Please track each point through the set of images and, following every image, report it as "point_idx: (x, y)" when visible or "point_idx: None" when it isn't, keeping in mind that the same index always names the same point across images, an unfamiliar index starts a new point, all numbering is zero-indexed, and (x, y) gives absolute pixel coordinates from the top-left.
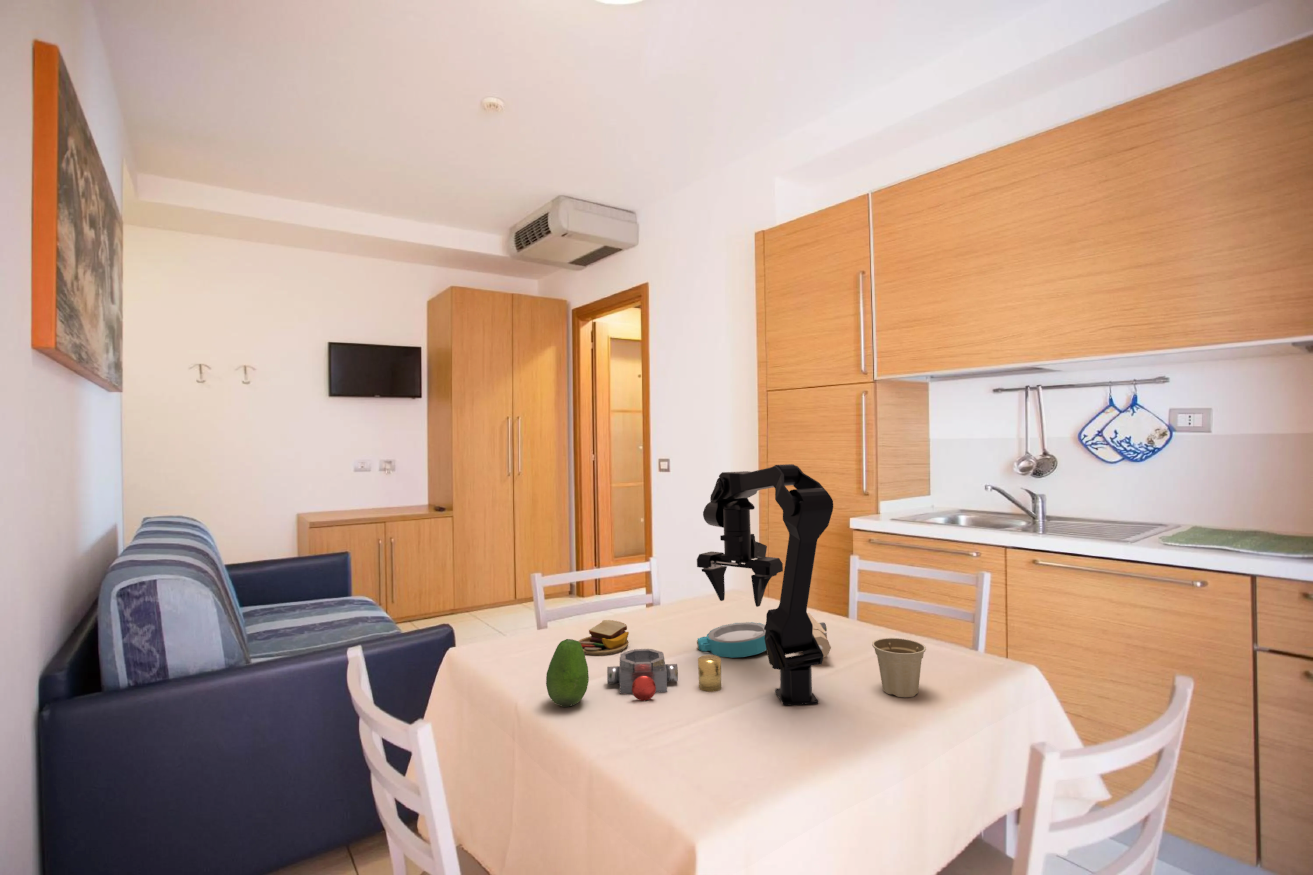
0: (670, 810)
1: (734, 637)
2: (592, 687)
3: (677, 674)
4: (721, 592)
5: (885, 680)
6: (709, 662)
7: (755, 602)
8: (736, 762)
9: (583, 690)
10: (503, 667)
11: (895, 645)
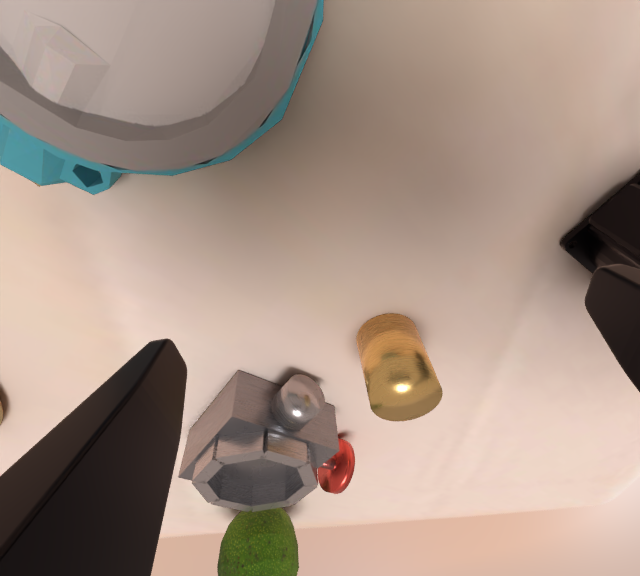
0: (561, 504)
1: None
2: None
3: (324, 402)
4: (159, 436)
5: None
6: (425, 411)
7: (614, 344)
8: (591, 441)
9: (292, 529)
10: None
11: None
